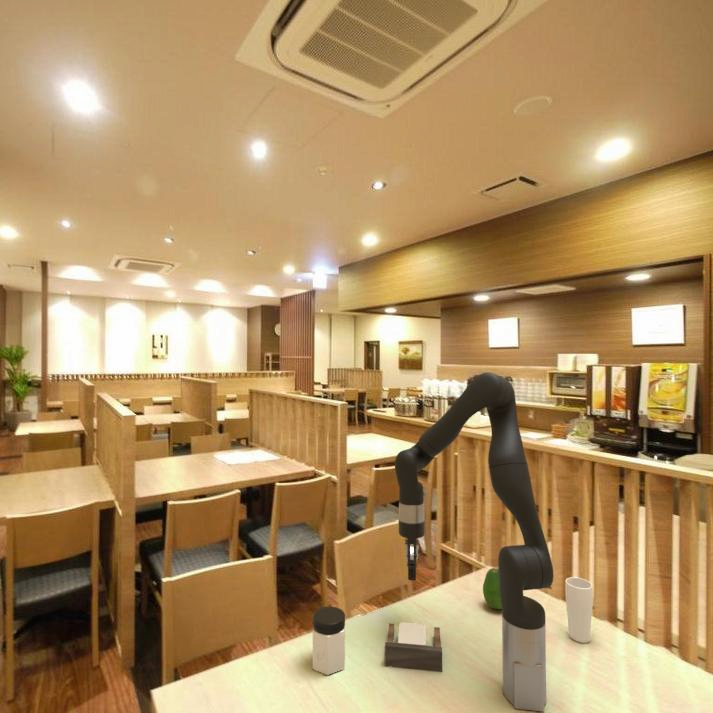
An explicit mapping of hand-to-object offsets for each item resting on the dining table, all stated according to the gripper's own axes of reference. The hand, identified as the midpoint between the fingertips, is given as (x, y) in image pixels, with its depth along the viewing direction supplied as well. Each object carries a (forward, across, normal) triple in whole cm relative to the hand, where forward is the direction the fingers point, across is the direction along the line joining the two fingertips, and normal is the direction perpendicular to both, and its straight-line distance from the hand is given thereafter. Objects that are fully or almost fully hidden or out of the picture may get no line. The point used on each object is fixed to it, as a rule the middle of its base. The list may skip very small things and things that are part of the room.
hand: (412, 579), depth 125 cm
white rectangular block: (+14, -11, 0) cm, 17 cm away
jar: (+14, -18, +21) cm, 31 cm away
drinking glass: (+14, 0, -46) cm, 47 cm away
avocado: (+13, +12, -26) cm, 32 cm away
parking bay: (+14, -11, 0) cm, 17 cm away
